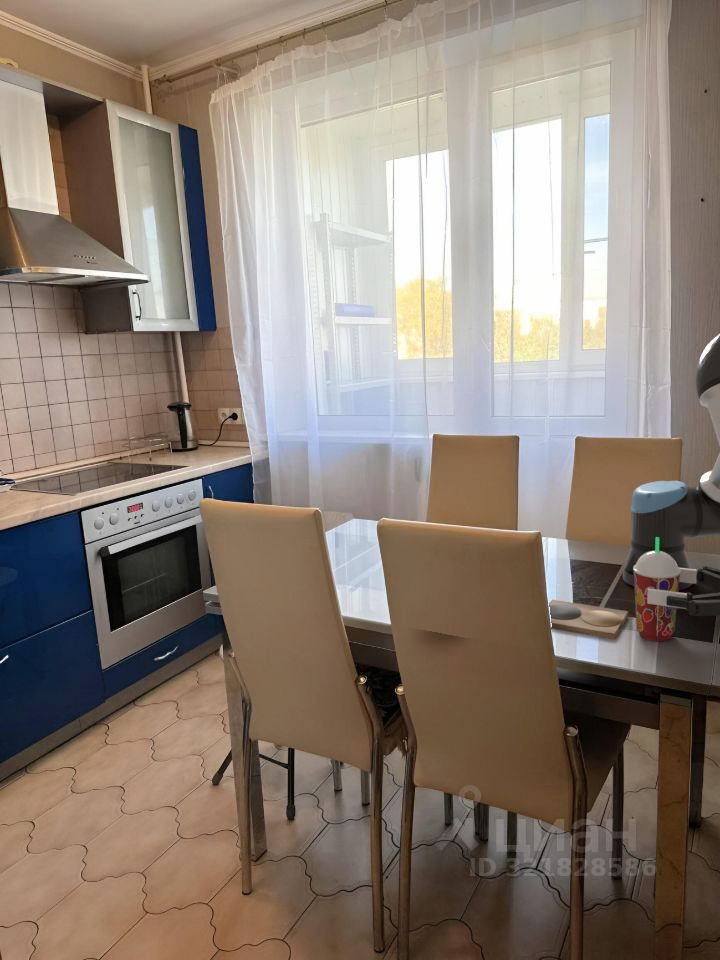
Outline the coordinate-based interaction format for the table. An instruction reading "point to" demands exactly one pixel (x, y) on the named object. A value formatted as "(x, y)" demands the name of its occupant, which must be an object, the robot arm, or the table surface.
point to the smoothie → (661, 575)
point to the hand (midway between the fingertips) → (654, 583)
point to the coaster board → (587, 619)
